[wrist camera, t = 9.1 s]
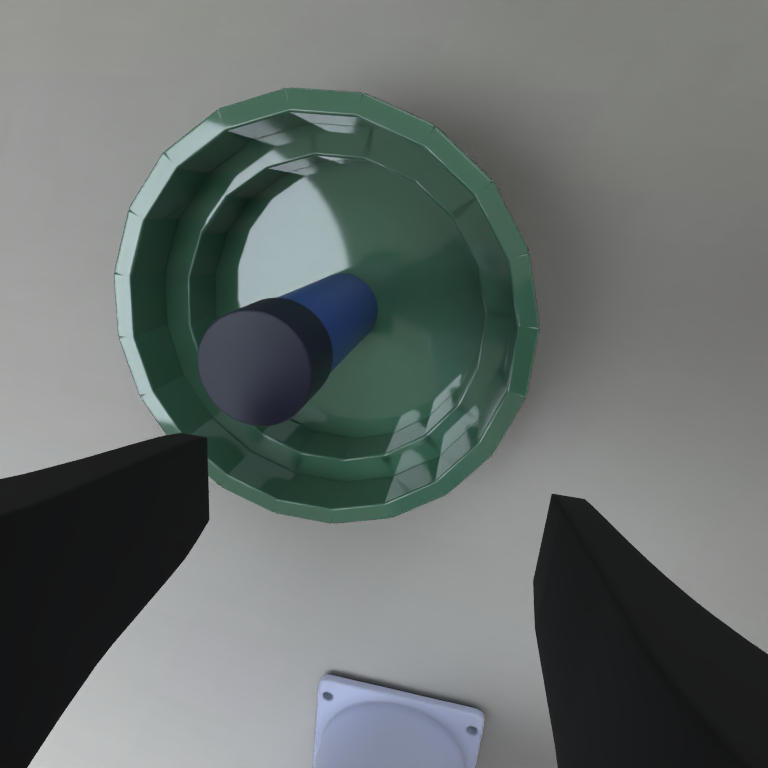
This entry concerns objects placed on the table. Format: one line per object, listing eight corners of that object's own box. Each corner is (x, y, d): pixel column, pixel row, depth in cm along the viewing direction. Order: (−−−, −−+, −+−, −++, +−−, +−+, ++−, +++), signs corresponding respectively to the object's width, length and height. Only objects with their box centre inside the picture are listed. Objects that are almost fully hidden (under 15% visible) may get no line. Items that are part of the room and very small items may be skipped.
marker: (377, 350, 20) (308, 435, 12) (305, 340, 20) (197, 417, 13) (384, 275, 19) (315, 318, 12) (309, 266, 20) (194, 302, 12)
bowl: (494, 488, 22) (496, 555, 17) (192, 436, 24) (128, 485, 19) (559, 132, 17) (582, 106, 13) (183, 103, 19) (98, 73, 15)
